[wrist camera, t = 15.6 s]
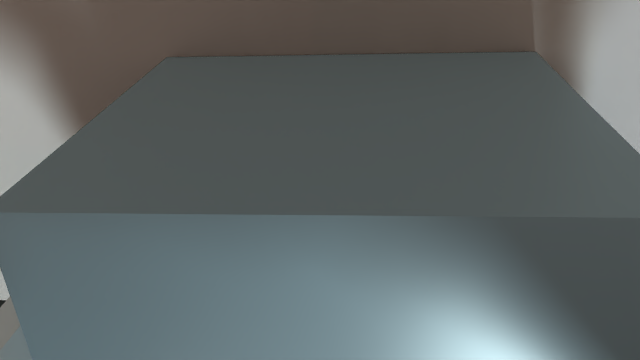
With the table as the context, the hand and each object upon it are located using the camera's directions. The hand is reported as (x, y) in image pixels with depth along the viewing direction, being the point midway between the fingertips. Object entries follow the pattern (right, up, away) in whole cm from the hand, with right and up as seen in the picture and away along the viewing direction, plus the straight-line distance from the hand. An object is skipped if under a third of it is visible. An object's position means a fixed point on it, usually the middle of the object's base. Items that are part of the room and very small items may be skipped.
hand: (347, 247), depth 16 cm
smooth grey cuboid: (0, +1, +2) cm, 2 cm away
